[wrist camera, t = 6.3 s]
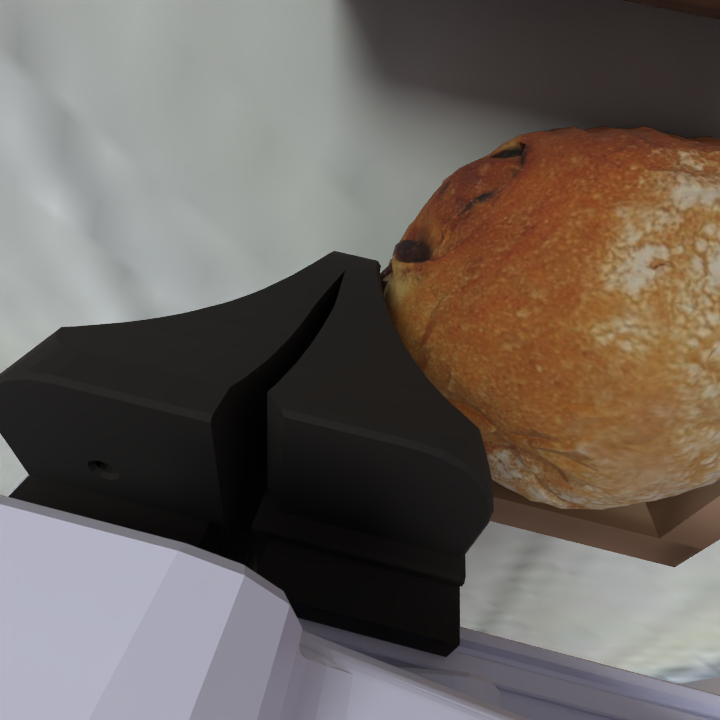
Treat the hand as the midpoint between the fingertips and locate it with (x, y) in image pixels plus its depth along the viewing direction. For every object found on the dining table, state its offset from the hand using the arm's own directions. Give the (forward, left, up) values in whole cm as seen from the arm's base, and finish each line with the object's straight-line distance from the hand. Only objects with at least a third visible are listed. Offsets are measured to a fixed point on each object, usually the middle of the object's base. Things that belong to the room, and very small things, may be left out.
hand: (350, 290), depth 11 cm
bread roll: (0, -6, -3) cm, 6 cm away
